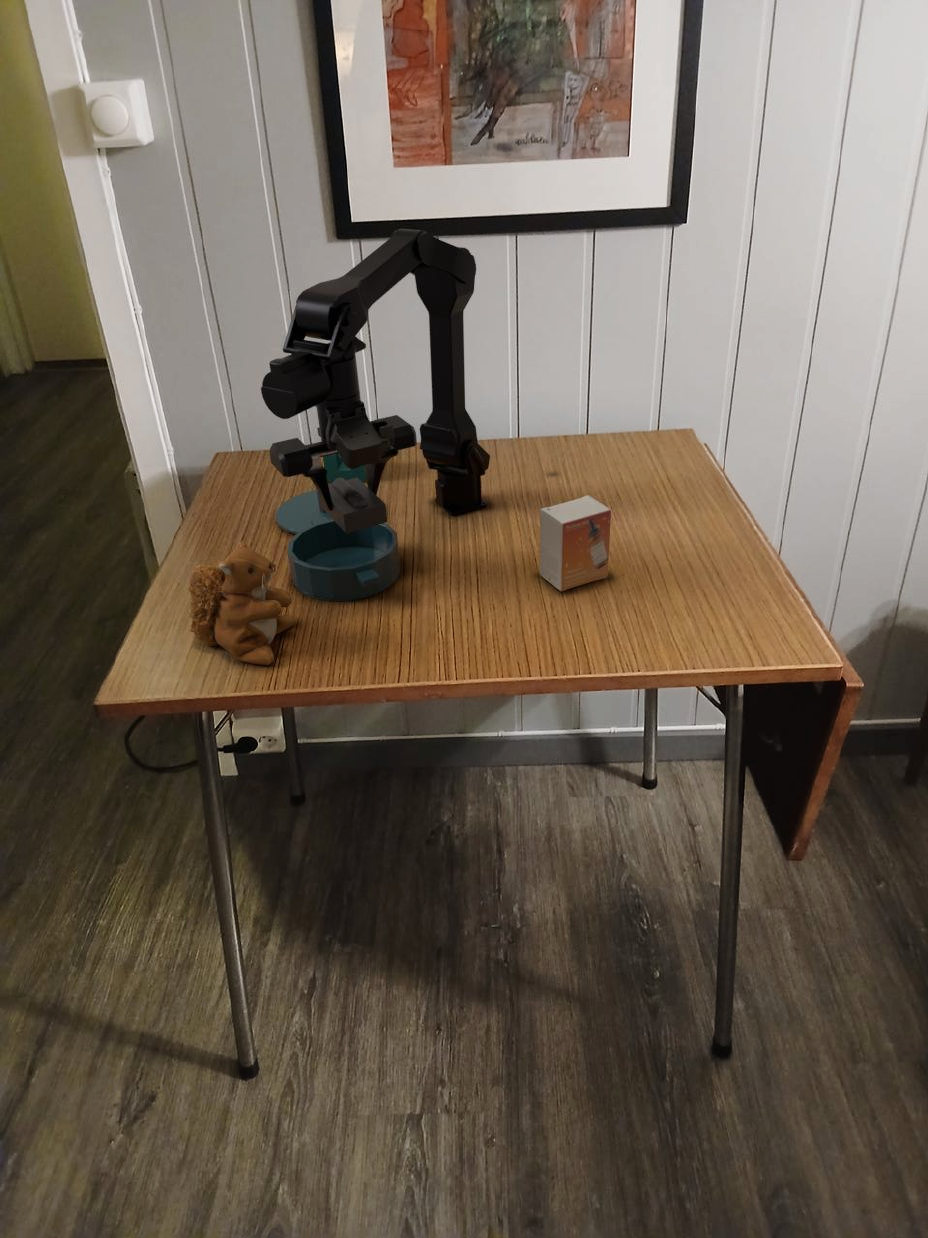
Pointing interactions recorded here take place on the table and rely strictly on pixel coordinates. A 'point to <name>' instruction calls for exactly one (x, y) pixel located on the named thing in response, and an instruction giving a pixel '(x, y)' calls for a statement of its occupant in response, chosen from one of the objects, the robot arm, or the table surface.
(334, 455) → the bracket
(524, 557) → the table surface
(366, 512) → the dark grey block
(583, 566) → the small box
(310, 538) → the pot
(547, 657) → the table surface
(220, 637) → the stuffed squirrel
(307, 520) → the lid
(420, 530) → the table surface
